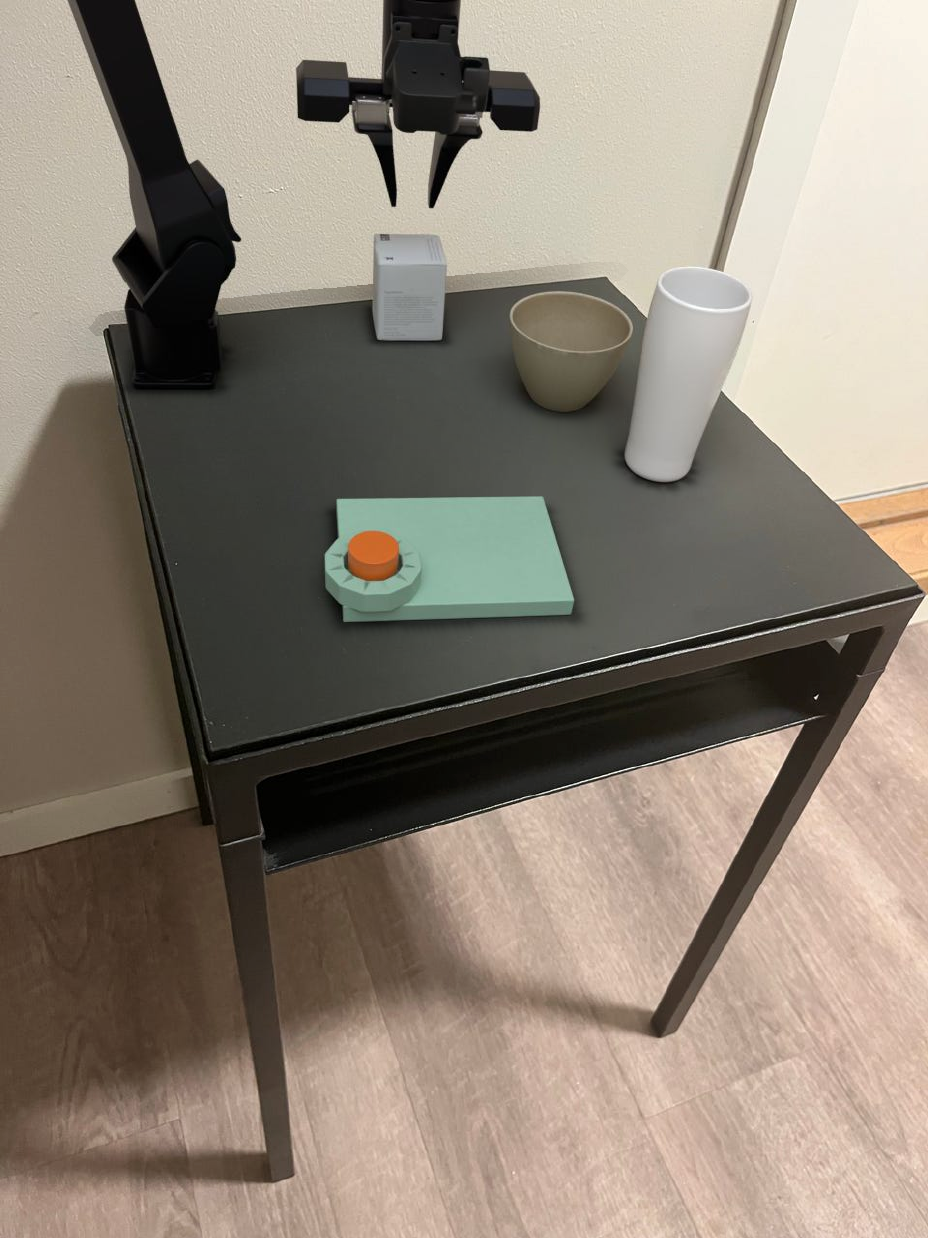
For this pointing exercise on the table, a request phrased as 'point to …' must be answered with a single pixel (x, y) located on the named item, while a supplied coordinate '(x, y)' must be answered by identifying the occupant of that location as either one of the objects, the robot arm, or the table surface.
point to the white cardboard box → (408, 286)
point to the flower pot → (567, 346)
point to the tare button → (373, 555)
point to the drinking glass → (683, 367)
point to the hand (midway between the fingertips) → (412, 205)
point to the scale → (452, 559)
